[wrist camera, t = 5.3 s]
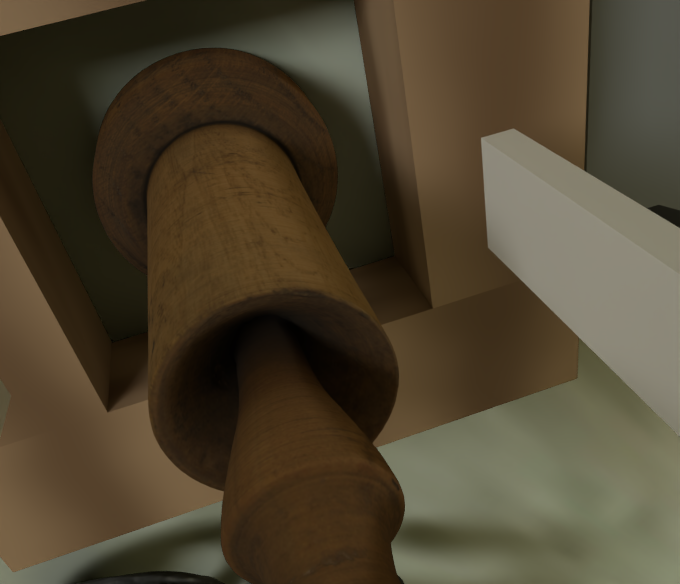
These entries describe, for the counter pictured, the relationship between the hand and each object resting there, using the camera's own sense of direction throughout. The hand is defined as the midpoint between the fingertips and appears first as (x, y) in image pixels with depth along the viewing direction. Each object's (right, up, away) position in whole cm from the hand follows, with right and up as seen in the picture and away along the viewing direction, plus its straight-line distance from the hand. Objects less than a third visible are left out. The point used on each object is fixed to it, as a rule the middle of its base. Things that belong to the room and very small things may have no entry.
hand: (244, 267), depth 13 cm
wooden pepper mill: (-2, +3, +6) cm, 7 cm away
